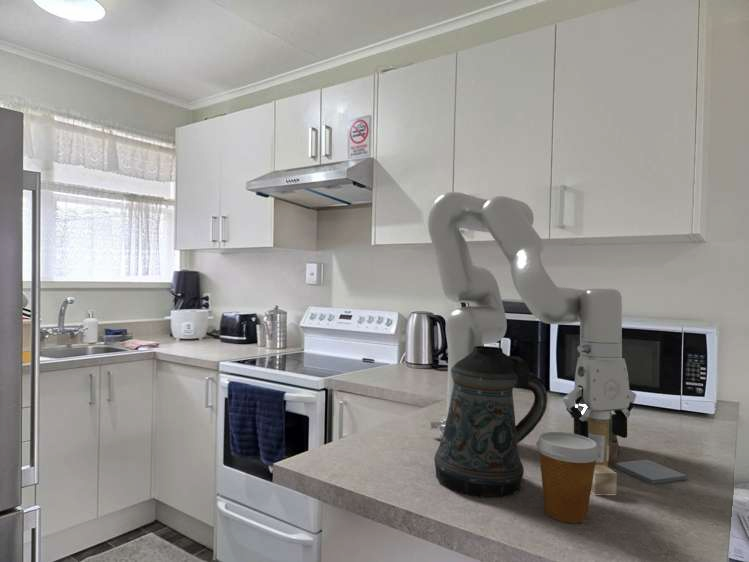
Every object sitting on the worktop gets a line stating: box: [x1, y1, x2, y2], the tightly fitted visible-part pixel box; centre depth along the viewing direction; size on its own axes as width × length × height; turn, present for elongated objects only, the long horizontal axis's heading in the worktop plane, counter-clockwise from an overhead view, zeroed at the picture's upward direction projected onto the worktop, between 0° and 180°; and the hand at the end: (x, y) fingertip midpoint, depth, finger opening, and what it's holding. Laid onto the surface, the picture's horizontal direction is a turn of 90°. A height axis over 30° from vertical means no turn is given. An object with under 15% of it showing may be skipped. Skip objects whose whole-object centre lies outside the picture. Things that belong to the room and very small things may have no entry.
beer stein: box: [433, 345, 548, 499], centre depth 91 cm, size 16×19×25 cm
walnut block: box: [608, 442, 619, 467], centre depth 103 cm, size 4×4×4 cm
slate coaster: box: [614, 459, 688, 485], centre depth 97 cm, size 9×9×1 cm
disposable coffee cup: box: [535, 431, 600, 524], centre depth 78 cm, size 10×10×12 cm
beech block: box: [591, 465, 618, 496], centre depth 88 cm, size 4×4×4 cm
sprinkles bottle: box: [586, 410, 610, 468], centre depth 95 cm, size 5×5×14 cm
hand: (600, 437), depth 95 cm, fingers open, 9 cm apart
